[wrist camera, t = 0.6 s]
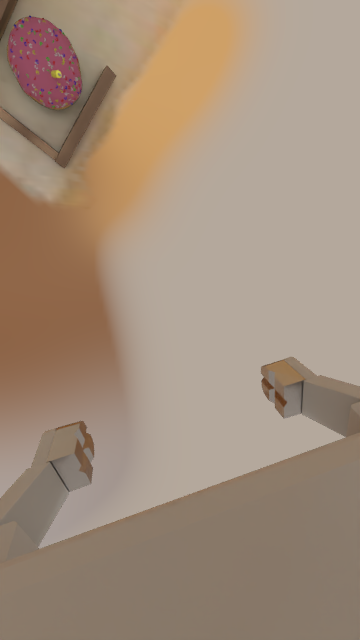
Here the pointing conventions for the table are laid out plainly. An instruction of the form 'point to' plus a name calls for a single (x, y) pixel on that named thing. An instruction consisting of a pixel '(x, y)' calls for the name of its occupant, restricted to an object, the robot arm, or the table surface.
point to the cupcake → (44, 63)
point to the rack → (3, 3)
